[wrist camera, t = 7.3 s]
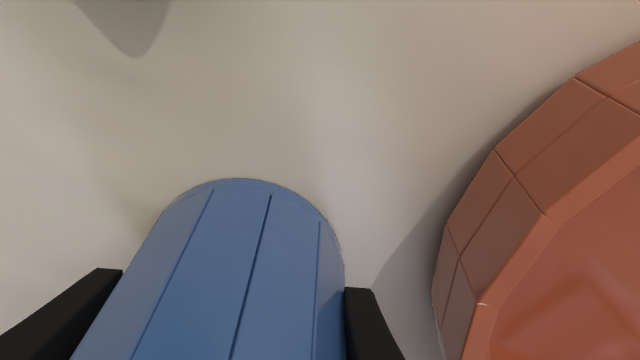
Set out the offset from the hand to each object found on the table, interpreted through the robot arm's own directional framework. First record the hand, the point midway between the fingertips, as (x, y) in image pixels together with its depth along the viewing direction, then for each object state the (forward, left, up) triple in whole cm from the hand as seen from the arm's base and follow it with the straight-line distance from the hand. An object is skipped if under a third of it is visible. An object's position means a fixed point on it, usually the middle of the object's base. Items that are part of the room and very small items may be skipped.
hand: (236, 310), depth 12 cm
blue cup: (0, 0, -2) cm, 2 cm away
